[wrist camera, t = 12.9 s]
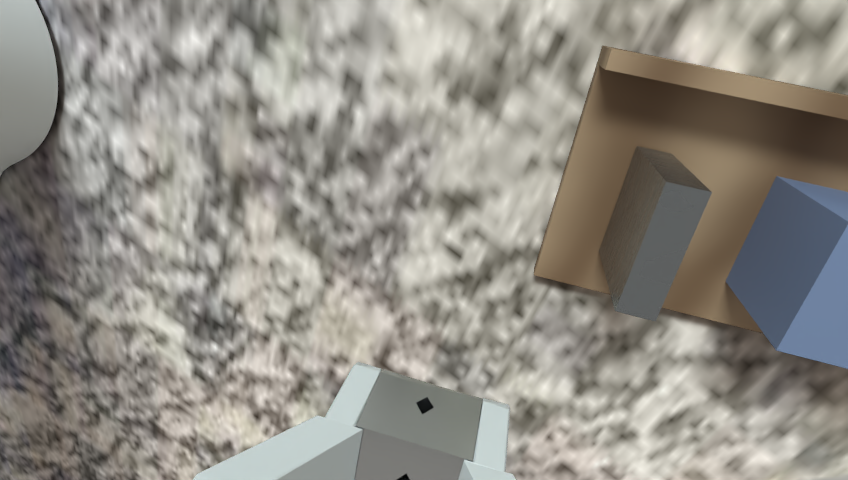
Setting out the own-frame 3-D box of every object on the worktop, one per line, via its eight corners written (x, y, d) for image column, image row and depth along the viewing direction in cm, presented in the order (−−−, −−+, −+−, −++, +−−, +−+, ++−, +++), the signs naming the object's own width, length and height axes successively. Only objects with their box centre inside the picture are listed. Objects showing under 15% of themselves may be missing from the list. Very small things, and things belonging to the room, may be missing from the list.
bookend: (598, 251, 26) (614, 310, 21) (636, 145, 24) (666, 181, 18) (630, 259, 26) (655, 321, 21) (672, 153, 24) (712, 192, 18)
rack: (534, 268, 28) (533, 337, 22) (602, 45, 23) (626, 53, 17) (863, 351, 26) (962, 451, 20) (1010, 128, 22) (1198, 170, 16)
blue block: (725, 281, 26) (776, 350, 20) (776, 176, 23) (849, 222, 18) (788, 296, 25) (857, 371, 20) (846, 191, 23) (941, 243, 18)
